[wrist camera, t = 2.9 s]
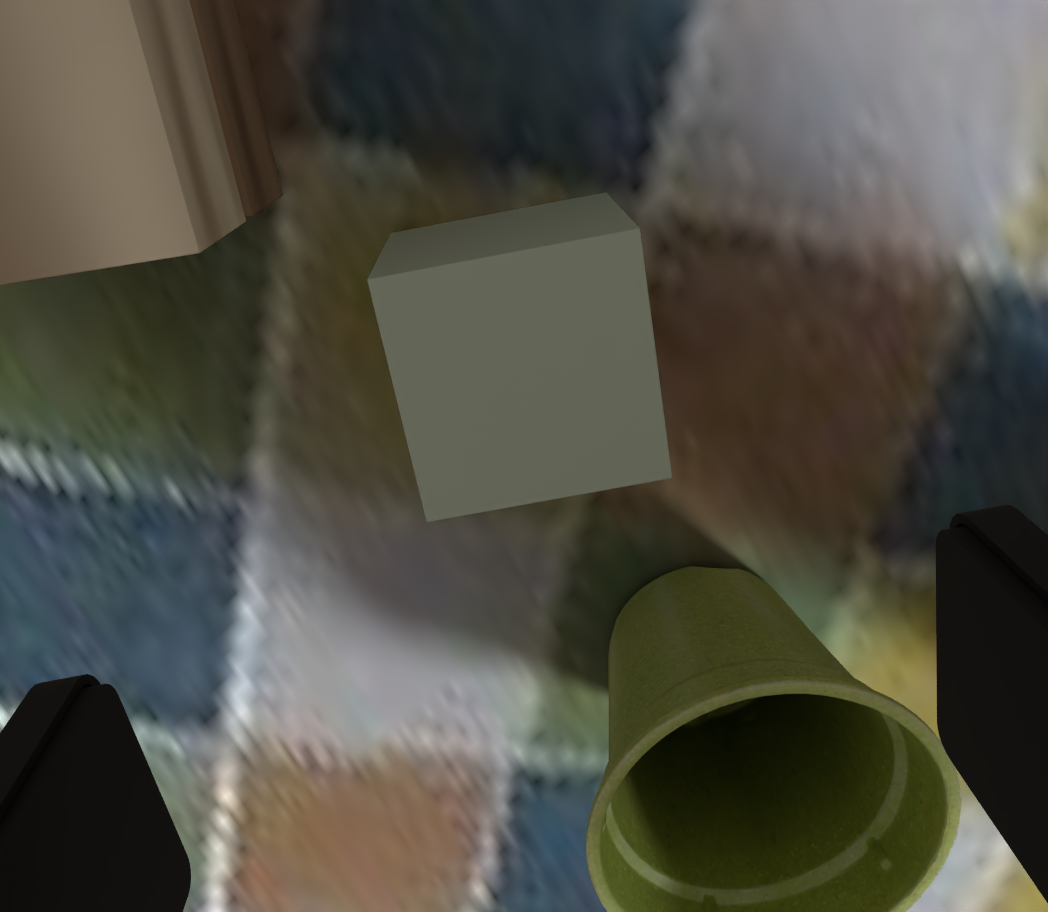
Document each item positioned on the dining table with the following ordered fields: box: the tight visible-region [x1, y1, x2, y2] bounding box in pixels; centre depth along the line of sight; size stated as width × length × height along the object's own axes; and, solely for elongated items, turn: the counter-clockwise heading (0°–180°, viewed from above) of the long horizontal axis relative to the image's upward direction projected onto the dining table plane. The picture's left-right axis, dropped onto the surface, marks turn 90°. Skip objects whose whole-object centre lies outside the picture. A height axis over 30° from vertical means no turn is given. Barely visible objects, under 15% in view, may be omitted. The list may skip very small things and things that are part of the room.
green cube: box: [367, 192, 672, 522], centre depth 25 cm, size 6×6×6 cm
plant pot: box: [586, 566, 961, 912], centre depth 28 cm, size 9×9×9 cm
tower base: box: [189, 0, 283, 217], centre depth 22 cm, size 9×9×4 cm
